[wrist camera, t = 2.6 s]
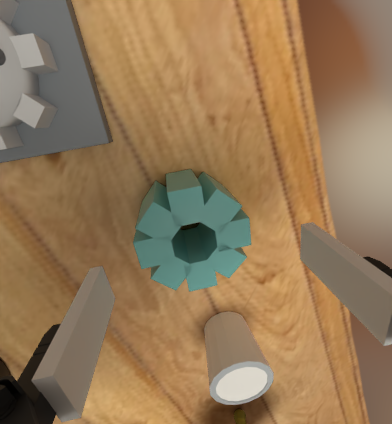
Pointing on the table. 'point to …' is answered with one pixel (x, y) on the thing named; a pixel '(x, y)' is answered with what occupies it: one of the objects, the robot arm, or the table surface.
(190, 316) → the table surface
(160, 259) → the idler gear
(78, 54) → the gear board
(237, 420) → the decorative mushroom
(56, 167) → the table surface
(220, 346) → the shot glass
